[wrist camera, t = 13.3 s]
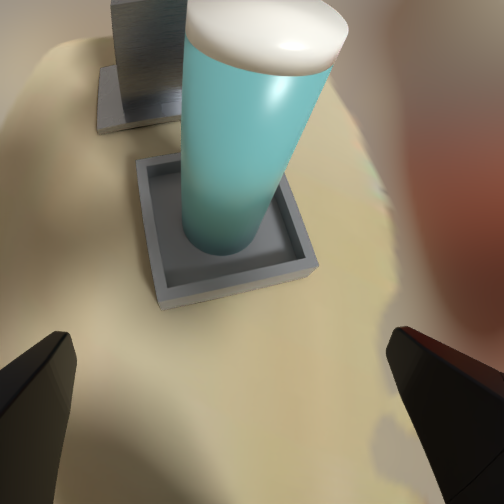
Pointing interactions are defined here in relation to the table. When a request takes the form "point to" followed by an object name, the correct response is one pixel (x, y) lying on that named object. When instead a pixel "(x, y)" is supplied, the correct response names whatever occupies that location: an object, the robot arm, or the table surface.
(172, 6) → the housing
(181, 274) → the holder tray
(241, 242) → the canister
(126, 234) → the table surface
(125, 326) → the table surface
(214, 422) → the table surface
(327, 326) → the table surface
